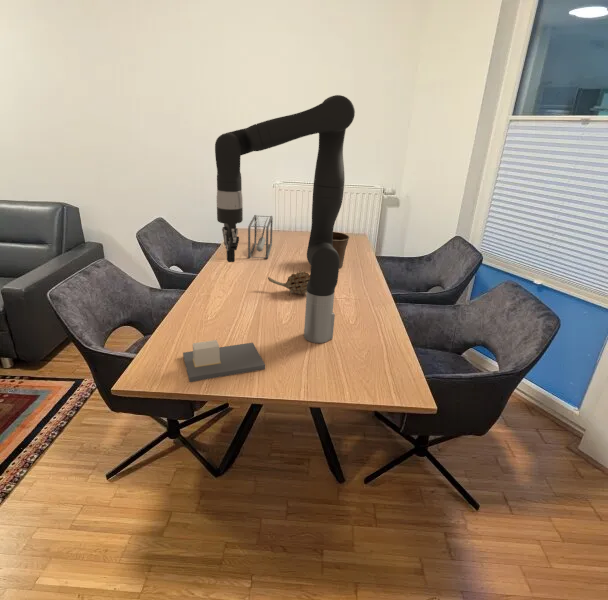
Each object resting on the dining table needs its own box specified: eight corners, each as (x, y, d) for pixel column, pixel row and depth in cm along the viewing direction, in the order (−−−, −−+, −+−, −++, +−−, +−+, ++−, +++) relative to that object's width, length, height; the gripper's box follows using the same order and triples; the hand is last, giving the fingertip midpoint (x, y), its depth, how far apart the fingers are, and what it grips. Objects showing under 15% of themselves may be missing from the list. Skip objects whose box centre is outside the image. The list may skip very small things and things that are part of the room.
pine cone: (317, 290, 182) (318, 269, 178) (315, 299, 173) (316, 277, 169) (267, 286, 183) (268, 265, 179) (263, 294, 175) (264, 272, 171)
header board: (252, 346, 134) (252, 331, 132) (265, 369, 122) (265, 352, 120) (183, 356, 126) (182, 340, 124) (189, 382, 115) (188, 365, 112)
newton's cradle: (254, 243, 245) (254, 213, 238) (272, 244, 245) (272, 214, 238) (248, 259, 218) (248, 226, 210) (267, 260, 218) (268, 227, 211)
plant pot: (347, 271, 207) (350, 240, 201) (315, 270, 207) (317, 238, 201) (345, 261, 222) (348, 232, 216) (315, 260, 222) (317, 230, 215)
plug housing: (217, 355, 125) (216, 339, 123) (219, 362, 122) (219, 346, 119) (193, 359, 122) (192, 343, 120) (195, 366, 119) (194, 350, 117)
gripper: (247, 209, 117) (247, 267, 124) (236, 201, 128) (237, 254, 135) (221, 210, 115) (223, 269, 121) (212, 201, 126) (214, 255, 133)
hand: (230, 261), depth 128 cm, fingers closed
